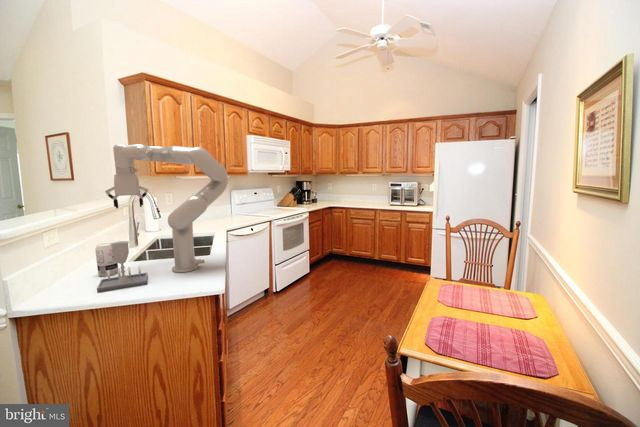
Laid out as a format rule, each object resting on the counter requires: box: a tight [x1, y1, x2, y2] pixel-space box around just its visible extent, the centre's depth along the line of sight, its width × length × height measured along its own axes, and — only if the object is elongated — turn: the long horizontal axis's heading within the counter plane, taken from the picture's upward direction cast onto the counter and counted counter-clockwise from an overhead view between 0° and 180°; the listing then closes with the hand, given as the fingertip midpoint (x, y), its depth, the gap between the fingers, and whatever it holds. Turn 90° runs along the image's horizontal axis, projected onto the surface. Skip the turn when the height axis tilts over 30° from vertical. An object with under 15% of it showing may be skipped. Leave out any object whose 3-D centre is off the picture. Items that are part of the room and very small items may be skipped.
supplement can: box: [95, 242, 119, 277], centre depth 146 cm, size 8×8×15 cm
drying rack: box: [96, 265, 149, 294], centre depth 133 cm, size 18×12×6 cm, turn 119°
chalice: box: [110, 240, 131, 284], centre depth 132 cm, size 7×7×18 cm
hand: (129, 207), depth 143 cm, fingers open, 9 cm apart
